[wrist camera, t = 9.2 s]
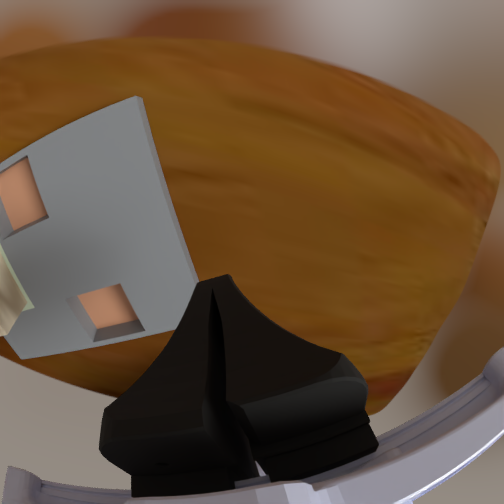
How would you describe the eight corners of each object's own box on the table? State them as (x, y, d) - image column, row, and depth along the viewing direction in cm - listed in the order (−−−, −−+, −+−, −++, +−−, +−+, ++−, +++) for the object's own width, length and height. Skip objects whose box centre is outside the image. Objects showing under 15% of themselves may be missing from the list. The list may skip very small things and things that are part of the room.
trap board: (207, 304, 23) (209, 320, 21) (27, 346, 21) (21, 359, 20) (142, 97, 15) (135, 95, 13) (-48, 204, 14) (-61, 212, 12)
